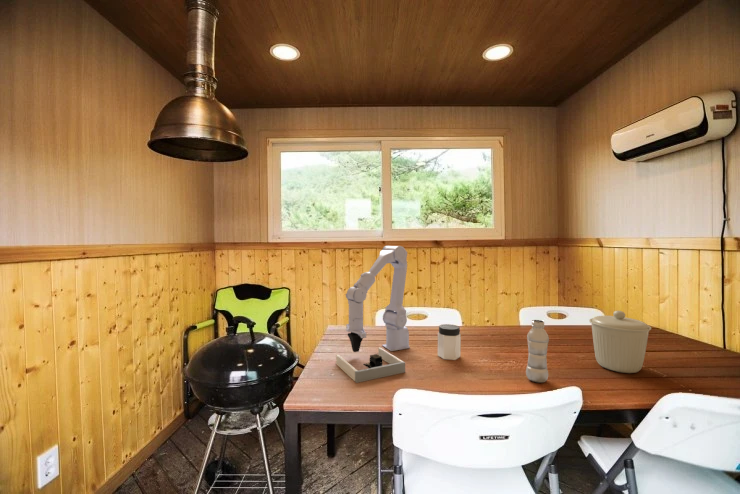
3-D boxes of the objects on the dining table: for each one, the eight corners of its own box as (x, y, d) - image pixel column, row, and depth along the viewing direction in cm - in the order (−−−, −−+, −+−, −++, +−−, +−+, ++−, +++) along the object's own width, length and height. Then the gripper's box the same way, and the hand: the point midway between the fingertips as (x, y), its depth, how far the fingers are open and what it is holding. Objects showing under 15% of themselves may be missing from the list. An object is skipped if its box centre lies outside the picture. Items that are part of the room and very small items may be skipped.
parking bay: (380, 356, 132) (380, 347, 132) (405, 372, 116) (405, 362, 116) (336, 364, 124) (336, 354, 123) (356, 382, 107) (356, 372, 107)
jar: (464, 358, 129) (464, 328, 129) (446, 361, 127) (446, 330, 126) (451, 351, 138) (451, 323, 137) (434, 353, 135) (434, 324, 135)
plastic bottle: (521, 377, 112) (522, 318, 112) (540, 376, 113) (541, 318, 113) (532, 385, 106) (533, 323, 106) (552, 384, 107) (553, 323, 106)
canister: (634, 382, 109) (635, 318, 108) (578, 363, 125) (579, 308, 124) (660, 372, 117) (661, 313, 117) (604, 356, 133) (605, 304, 133)
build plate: (393, 372, 118) (393, 359, 118) (376, 377, 114) (376, 363, 114) (374, 361, 128) (374, 349, 128) (358, 365, 124) (358, 352, 124)
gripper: (339, 314, 135) (339, 347, 135) (354, 322, 122) (354, 358, 122) (355, 312, 138) (355, 344, 138) (371, 320, 125) (371, 355, 126)
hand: (355, 351), depth 131 cm, fingers closed
